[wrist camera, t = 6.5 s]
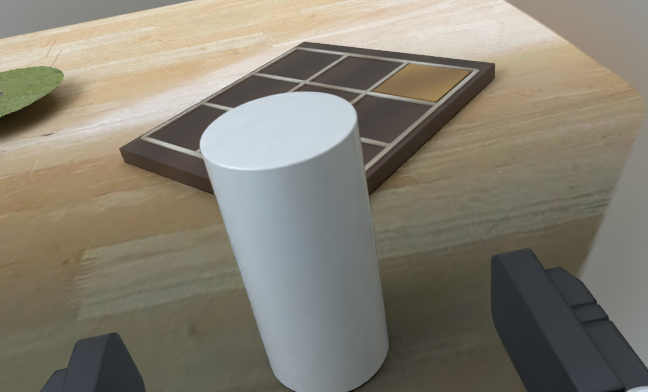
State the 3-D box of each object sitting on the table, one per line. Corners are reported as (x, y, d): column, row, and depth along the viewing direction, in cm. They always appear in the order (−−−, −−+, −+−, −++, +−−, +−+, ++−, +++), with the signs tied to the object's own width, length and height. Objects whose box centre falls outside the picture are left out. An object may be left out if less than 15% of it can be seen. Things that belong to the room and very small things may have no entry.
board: (495, 77, 37) (495, 61, 36) (325, 235, 26) (321, 216, 25) (306, 53, 46) (304, 40, 45) (124, 162, 35) (117, 146, 35)
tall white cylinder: (412, 328, 21) (388, 103, 16) (340, 419, 18) (284, 185, 13) (318, 287, 23) (272, 82, 18) (243, 362, 21) (166, 147, 16)
